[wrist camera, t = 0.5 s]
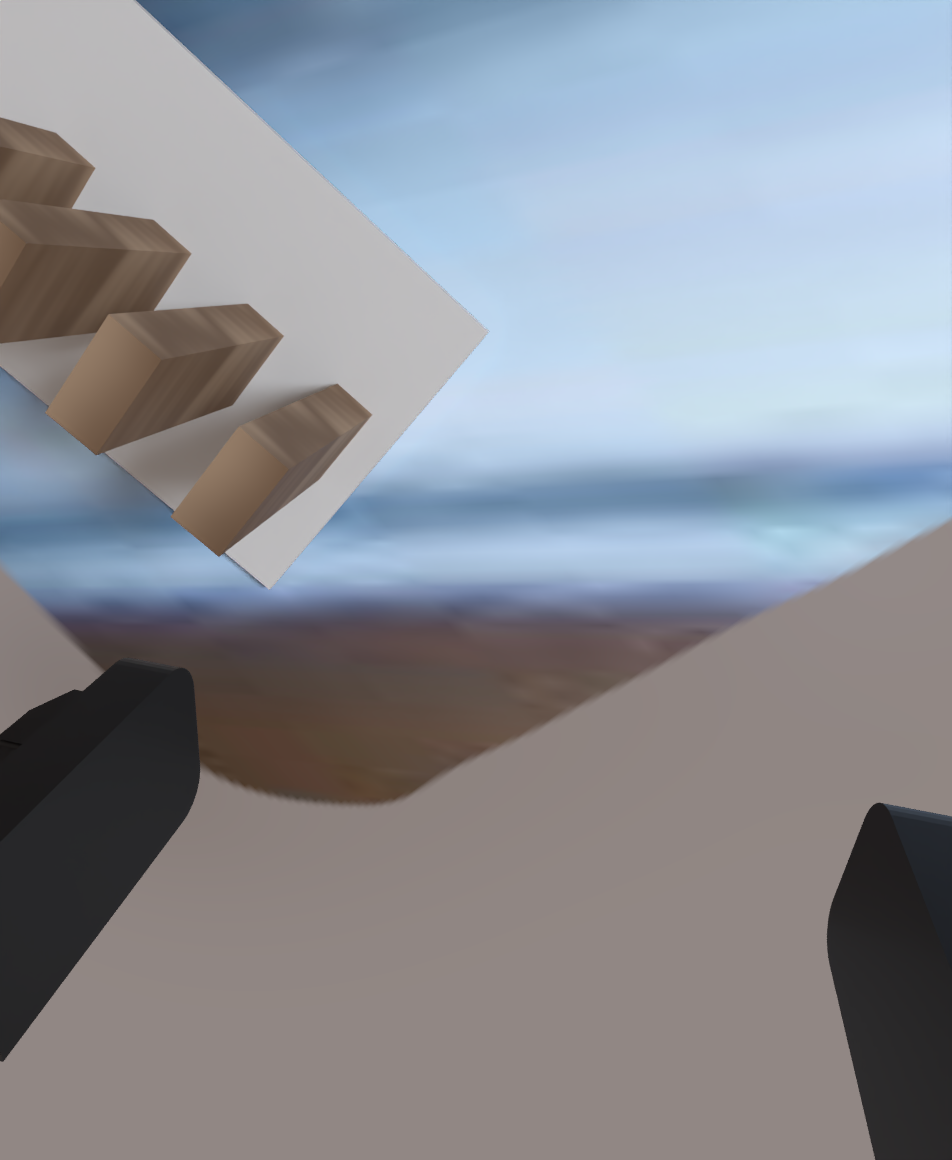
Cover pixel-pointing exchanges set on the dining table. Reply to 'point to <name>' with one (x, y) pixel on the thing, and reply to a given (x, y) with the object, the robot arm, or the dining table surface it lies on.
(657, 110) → the dining table surface
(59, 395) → the domino
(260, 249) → the mat
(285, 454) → the domino
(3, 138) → the domino
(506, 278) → the dining table surface
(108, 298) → the domino
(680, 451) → the dining table surface
